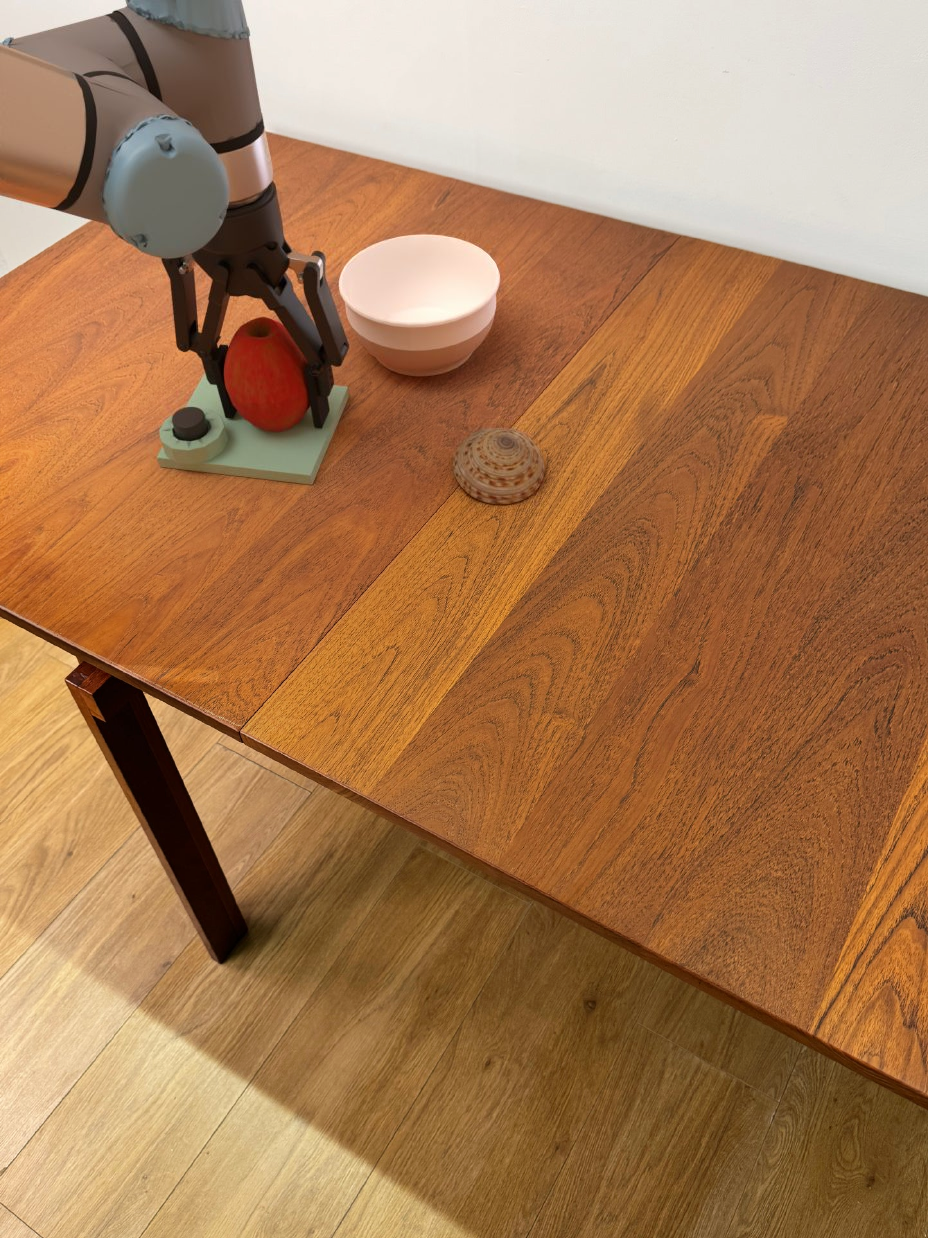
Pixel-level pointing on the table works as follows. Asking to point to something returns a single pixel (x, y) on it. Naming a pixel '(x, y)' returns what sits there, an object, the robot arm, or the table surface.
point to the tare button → (190, 424)
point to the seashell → (498, 465)
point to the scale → (251, 442)
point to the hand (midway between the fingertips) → (277, 413)
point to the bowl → (420, 301)
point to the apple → (266, 375)
